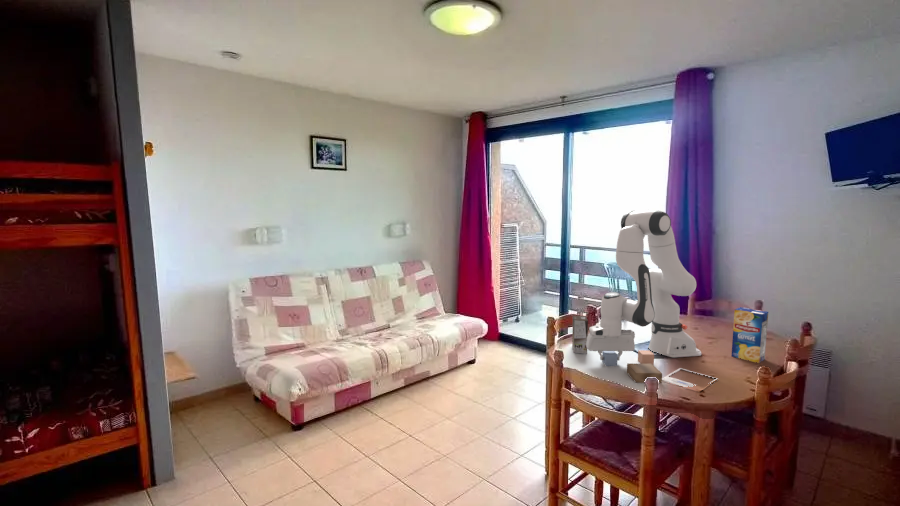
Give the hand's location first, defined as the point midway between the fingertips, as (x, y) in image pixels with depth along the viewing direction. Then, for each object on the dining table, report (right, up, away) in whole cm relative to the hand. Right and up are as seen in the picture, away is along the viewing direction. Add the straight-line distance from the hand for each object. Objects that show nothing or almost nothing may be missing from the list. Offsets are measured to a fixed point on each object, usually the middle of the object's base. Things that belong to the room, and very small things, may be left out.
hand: (609, 360), depth 190 cm
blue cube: (0, -2, 0) cm, 2 cm away
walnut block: (+8, -3, -15) cm, 18 cm away
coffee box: (-8, 0, +18) cm, 19 cm away
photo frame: (+25, -4, -18) cm, 31 cm away
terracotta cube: (+16, -2, 0) cm, 16 cm away
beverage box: (+64, 0, +5) cm, 65 cm away
